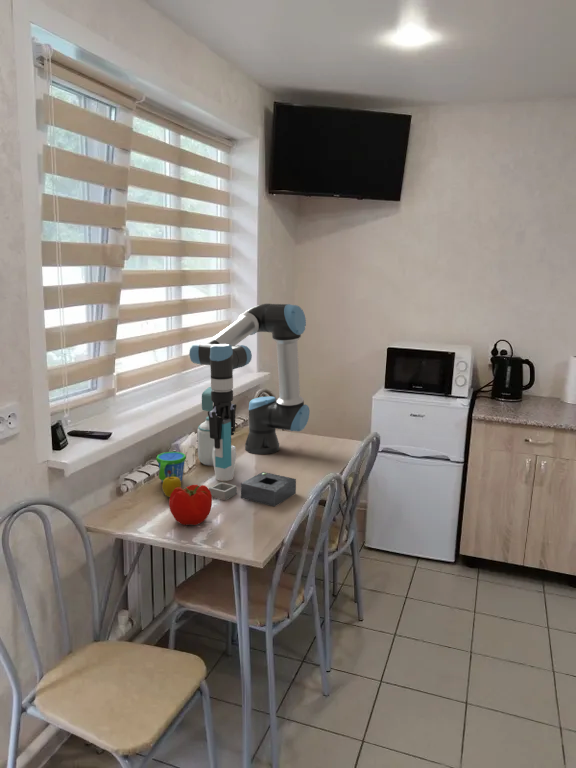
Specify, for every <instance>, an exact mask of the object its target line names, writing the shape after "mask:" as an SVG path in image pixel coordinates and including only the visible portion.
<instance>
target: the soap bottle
mask: <svg viewBox="0 0 576 768" xmlns="http://www.w3.org/2000/svg"><path fill="white" fill-rule="evenodd" d="M211 391H212V389H211V386H210V387H207V389H205V390H204V391H202V393H201V410H202V411H205V412H208V411H212V410H213V405H214V403H213V401H212V400H211ZM196 434H197V458H198V460H199V462H200V463H201V464H203V465H205V466H208V467H214V464H213V457H212V453H213V447H214V446H215V442H214V439H212V438H210V428H209V416H206V417H205V421H204V422H202V423H200V425H198V427H197V432H196Z"/></svg>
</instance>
